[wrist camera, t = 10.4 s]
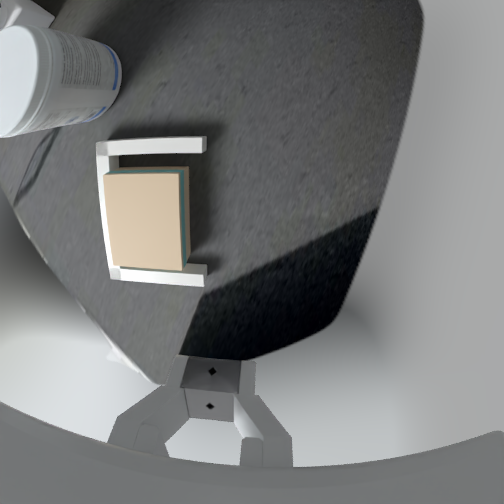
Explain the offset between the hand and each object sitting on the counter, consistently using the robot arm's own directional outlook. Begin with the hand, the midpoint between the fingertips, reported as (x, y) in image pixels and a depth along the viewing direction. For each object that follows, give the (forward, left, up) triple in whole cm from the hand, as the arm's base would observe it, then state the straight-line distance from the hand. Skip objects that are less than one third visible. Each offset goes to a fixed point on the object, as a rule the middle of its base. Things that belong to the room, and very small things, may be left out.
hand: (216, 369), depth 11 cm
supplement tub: (-14, -18, -24) cm, 33 cm away
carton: (+2, -10, -24) cm, 26 cm away
